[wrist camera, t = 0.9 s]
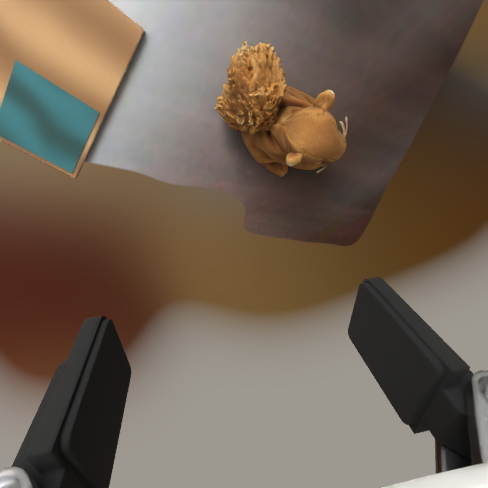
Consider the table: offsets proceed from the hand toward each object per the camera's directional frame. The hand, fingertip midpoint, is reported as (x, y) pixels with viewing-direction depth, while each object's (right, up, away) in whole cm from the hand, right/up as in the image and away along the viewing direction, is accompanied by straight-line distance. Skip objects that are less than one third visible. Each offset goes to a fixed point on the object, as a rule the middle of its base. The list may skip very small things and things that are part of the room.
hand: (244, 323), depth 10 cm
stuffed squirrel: (+2, +19, +23) cm, 30 cm away
